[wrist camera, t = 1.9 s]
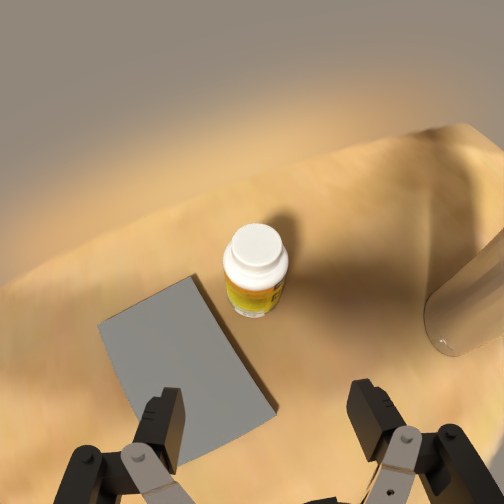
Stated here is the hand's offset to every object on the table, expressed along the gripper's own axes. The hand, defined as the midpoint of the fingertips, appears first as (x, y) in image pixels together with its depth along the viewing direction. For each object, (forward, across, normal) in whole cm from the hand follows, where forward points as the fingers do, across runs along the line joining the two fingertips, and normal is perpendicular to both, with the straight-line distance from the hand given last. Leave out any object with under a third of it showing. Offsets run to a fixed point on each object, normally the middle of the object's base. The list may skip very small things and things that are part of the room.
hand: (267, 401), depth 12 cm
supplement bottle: (+19, 0, +2) cm, 19 cm away
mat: (+13, +8, +8) cm, 17 cm away
